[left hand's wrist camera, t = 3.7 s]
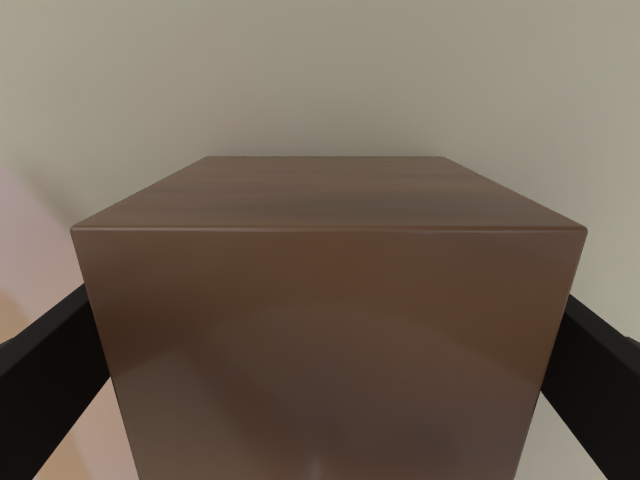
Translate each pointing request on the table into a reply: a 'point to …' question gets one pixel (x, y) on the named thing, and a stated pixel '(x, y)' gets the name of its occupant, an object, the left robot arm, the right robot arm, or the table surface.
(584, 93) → the table surface
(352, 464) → the thick board
